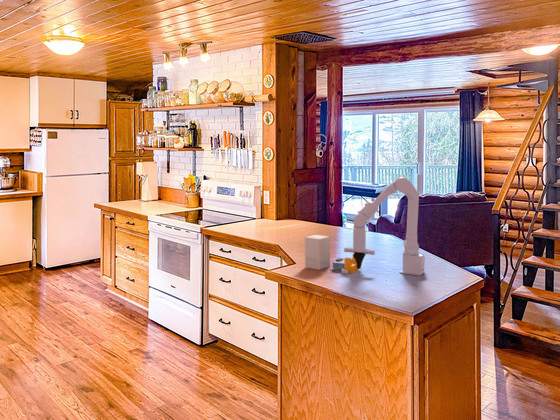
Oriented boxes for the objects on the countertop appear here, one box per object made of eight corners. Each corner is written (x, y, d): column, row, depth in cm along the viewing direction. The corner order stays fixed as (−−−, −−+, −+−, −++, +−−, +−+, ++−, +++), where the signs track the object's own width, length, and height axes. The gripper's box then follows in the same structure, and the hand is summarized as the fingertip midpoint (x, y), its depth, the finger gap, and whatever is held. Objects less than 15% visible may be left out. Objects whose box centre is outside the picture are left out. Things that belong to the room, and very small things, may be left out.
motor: (361, 266, 236) (361, 257, 235) (347, 274, 221) (347, 264, 221) (342, 263, 241) (342, 255, 240) (327, 271, 226) (327, 262, 226)
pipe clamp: (353, 273, 223) (353, 259, 222) (344, 272, 225) (344, 258, 225) (362, 267, 233) (362, 254, 233) (354, 266, 236) (354, 253, 235)
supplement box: (330, 266, 235) (330, 236, 233) (319, 270, 229) (319, 239, 227) (315, 263, 241) (315, 234, 240) (304, 267, 235) (304, 236, 233)
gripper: (377, 239, 225) (377, 268, 227) (348, 237, 233) (348, 264, 234) (372, 242, 219) (371, 271, 221) (342, 239, 227) (342, 268, 228)
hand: (359, 268), depth 227 cm, fingers closed
